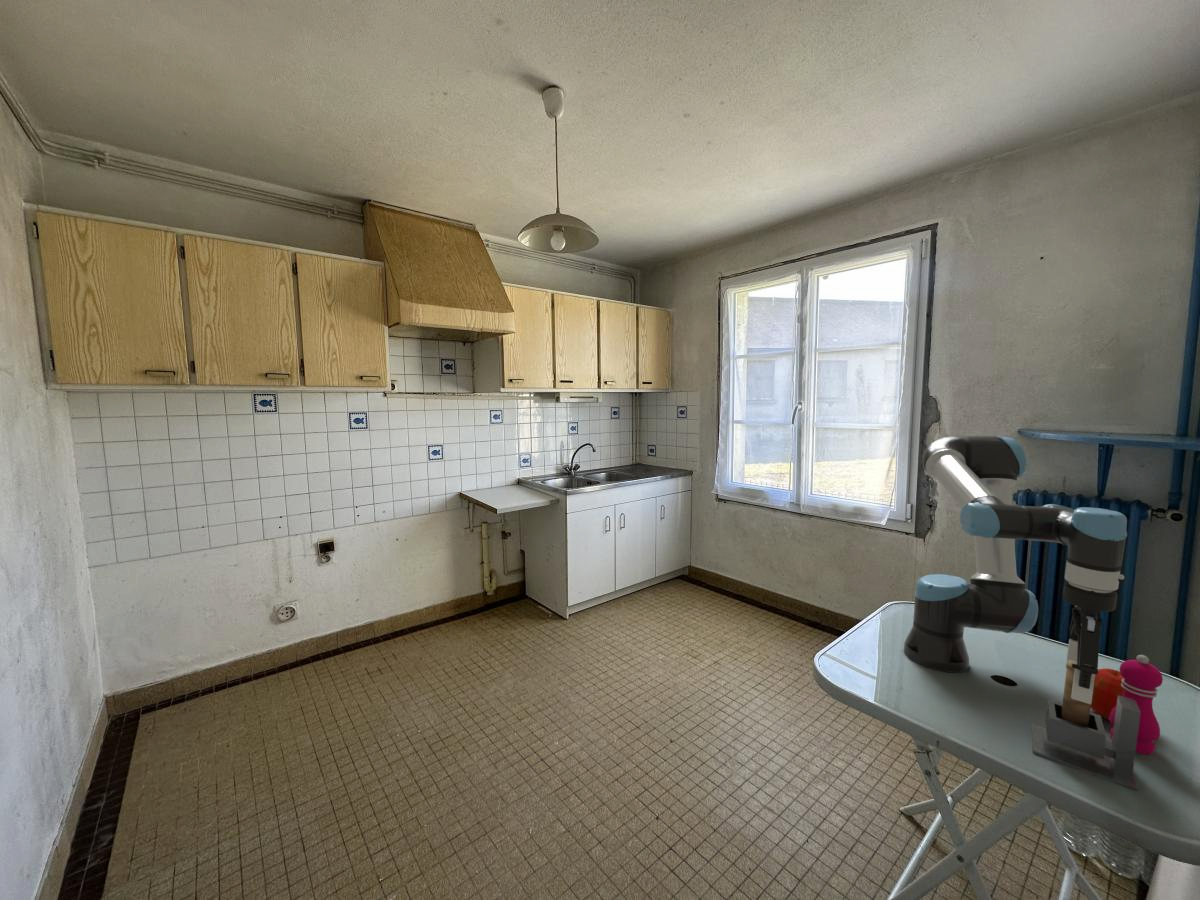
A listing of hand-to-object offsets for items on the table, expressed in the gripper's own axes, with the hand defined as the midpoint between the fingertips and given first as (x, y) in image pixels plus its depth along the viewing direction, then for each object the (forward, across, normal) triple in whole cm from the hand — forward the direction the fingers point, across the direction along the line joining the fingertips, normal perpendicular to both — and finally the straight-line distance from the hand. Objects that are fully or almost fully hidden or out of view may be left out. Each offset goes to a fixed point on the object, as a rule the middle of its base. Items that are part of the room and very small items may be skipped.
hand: (1077, 684), depth 98 cm
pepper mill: (+15, +11, -10) cm, 22 cm away
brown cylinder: (+11, -1, 0) cm, 11 cm away
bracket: (+15, -1, -2) cm, 15 cm away
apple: (+15, +21, -8) cm, 28 cm away
